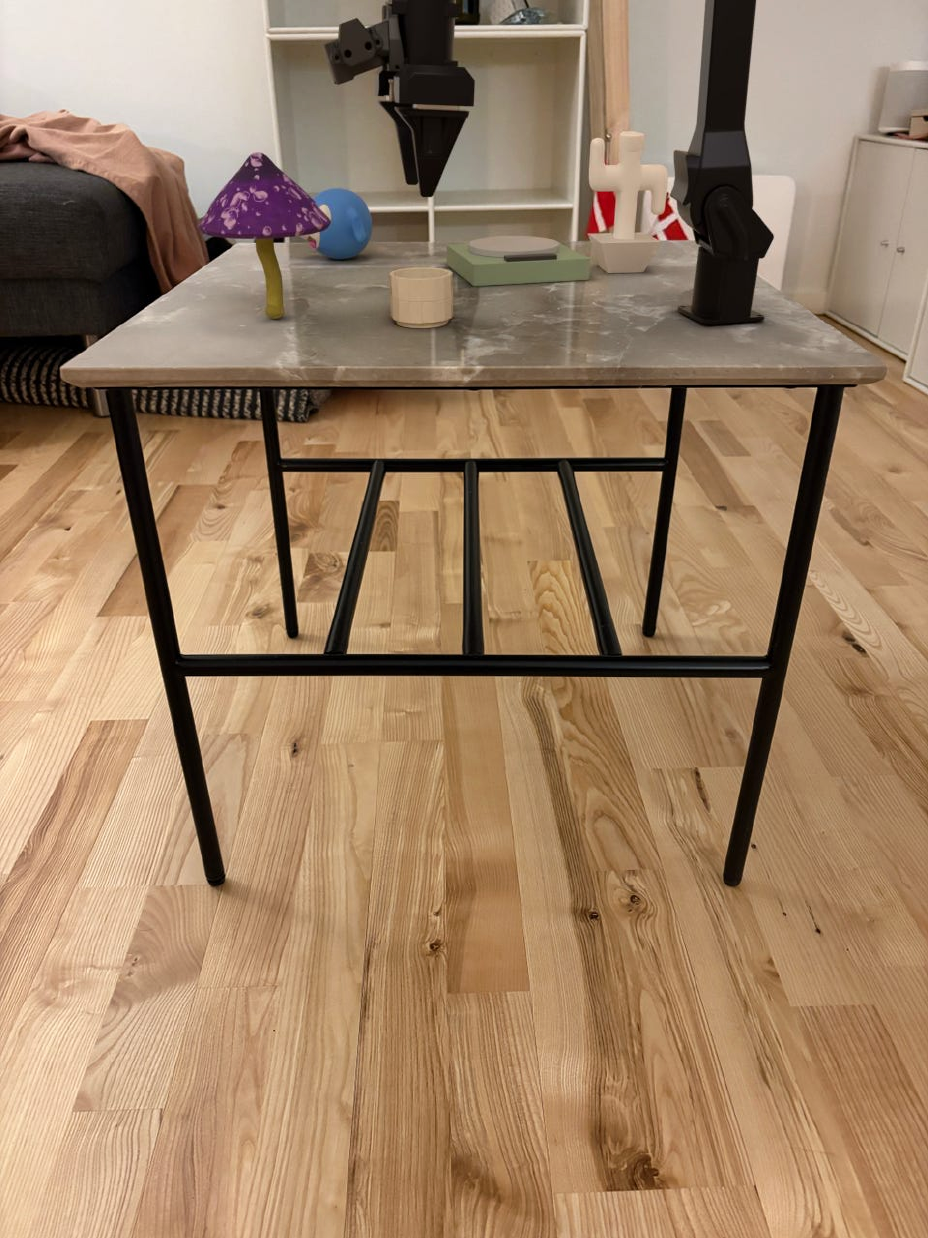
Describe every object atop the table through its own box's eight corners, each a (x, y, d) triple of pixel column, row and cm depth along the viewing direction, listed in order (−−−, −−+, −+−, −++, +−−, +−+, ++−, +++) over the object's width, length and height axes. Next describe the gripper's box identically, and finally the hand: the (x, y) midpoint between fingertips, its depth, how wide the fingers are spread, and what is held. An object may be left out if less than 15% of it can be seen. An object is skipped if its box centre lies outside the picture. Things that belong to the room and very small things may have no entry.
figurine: (667, 273, 111) (681, 133, 103) (590, 275, 110) (598, 134, 102) (650, 262, 117) (662, 129, 109) (577, 264, 116) (584, 130, 108)
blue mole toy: (266, 260, 120) (258, 189, 116) (341, 249, 127) (336, 182, 123) (317, 272, 113) (311, 197, 108) (394, 260, 119) (391, 189, 115)
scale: (589, 279, 108) (591, 250, 106) (473, 286, 105) (473, 256, 103) (551, 259, 120) (552, 232, 118) (446, 264, 117) (446, 237, 115)
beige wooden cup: (458, 326, 89) (458, 277, 87) (397, 330, 88) (395, 280, 85) (445, 313, 94) (444, 265, 92) (387, 316, 93) (385, 268, 90)
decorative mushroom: (204, 311, 95) (180, 149, 88) (322, 300, 99) (309, 144, 91) (221, 339, 85) (195, 159, 78) (352, 327, 89) (340, 154, 81)
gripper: (319, -12, 84) (325, 176, 92) (334, -27, 68) (339, 202, 77) (439, -4, 86) (434, 179, 94) (480, -17, 71) (470, 204, 79)
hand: (418, 190), depth 86 cm, fingers open, 9 cm apart
